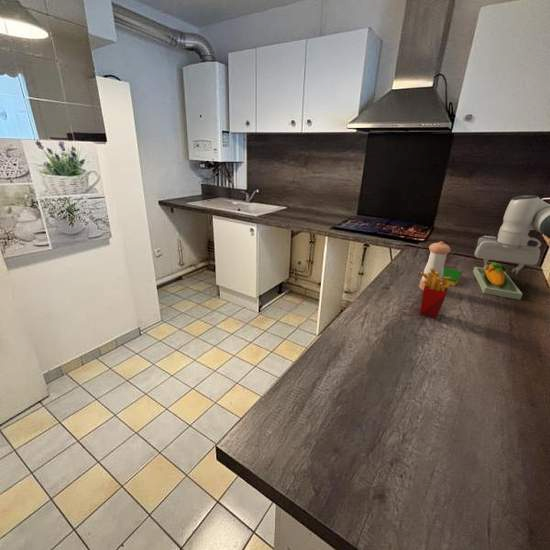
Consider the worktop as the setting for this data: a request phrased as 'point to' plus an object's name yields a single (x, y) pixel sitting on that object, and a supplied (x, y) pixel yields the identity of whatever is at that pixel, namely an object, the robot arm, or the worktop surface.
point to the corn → (496, 275)
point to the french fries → (433, 294)
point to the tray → (487, 288)
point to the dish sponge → (454, 276)
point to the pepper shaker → (435, 260)
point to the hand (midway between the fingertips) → (499, 271)
